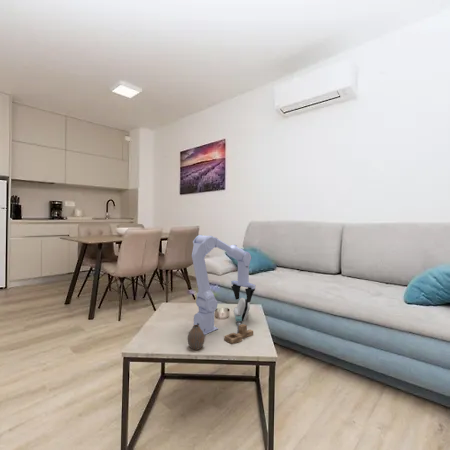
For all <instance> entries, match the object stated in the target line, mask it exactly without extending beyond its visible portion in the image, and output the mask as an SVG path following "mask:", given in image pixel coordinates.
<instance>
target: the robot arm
mask: <svg viewBox="0 0 450 450" xmlns="http://www.w3.org/2000/svg"><path fill="white" fill-rule="evenodd" d="M192 245H193V246H192V253H191V260H192V264H193V269H194V275H195V279H196V280H195V281H196V285H197V291H198V292H196V293H195V295H196V301H195V304H196V306H197V308H198V311H197V313H195V314H194V315H193V326H194V325H199V327H200V328H201V330H202V331H203V333H204V336H205V335H207V334H210V333H213V332H214V331H217V330H218V329H219V328H218V326H217V327H216V326H215V312H216V310H217V309H218V300H217V299H216V297H215V294H214V293H213V291H212V290H211V286H210V280H209V276H208V275H209V274H208V269H207V265H206V260H205V257H206V256H207V254H209V253H210V252H212V250H214V248H218V249H220V250H222V251H224V252H226V255H227V256H229V257H231V258H232V259H235V261H236V262H237V280H230V281H231V284H230V286H231V289H232V291H233V293H234V295H233V296H234V298H235V300H240V292H241V287H244V288H245V289H244V290H245V294H246V295H245V296H246V299H247V302H248V303H249V304H250V302H251V301H252V297H253V294H254V292H255V291H256V284H253V283H251V282H249V281H250V279H249V275H250V272H249V271H250V264H251V260H252V256H251V253H250V252H249V251H246V250H244V249H243V248H240V247H238V245H237V244H231V245H229V244H227V243H226V242H224V241H223V240H221V239H219V238H217V237H215V236H213V235H203V234H199V235H197V236H196V237H195V238H194V239H193V240H192Z"/></svg>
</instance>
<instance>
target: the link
mask: <svg viewBox="0 0 450 450" xmlns="http://www.w3.org/2000/svg"><path fill="white" fill-rule="evenodd" d="M251 336H254V330H253V329H248V325H246V324H244V323H241V325H239V333H237V332H236V333H235V332H232V333H228V334H225V335H223V338H224V341H225V342H227V343H229V344H231V345H234V344H238V343H240V342H243V339H245V338H249V337H251Z"/></svg>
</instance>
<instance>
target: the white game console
mask: <svg viewBox="0 0 450 450" xmlns="http://www.w3.org/2000/svg"><path fill="white" fill-rule="evenodd" d="M250 305H251V304H250V302H249V303H248V302H247V298H244V297H239V299H238V302H237V306H235V307H234V308H233V309H232V310H233V315H234V320H235V321H236V317H235V315H241V316H242V321H244V322H246V321H247V318H248V314H249V312H250V307H251V306H250Z"/></svg>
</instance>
